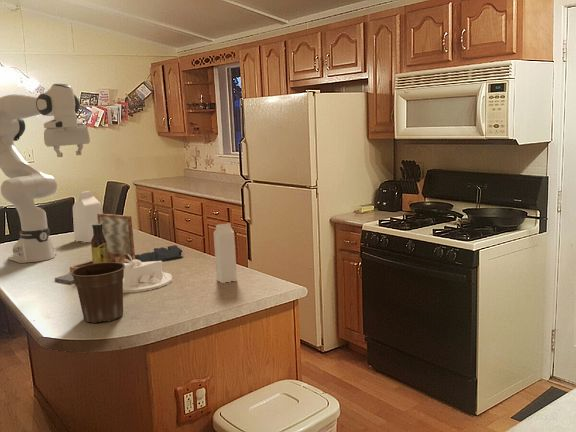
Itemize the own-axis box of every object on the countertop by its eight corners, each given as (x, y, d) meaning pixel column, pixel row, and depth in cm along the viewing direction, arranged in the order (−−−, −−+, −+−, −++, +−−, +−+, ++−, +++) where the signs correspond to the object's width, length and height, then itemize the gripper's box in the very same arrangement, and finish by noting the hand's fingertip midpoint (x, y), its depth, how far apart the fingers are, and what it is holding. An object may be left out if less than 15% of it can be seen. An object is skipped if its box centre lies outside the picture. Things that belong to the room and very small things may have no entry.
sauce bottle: (104, 272, 234) (99, 225, 230) (90, 272, 235) (85, 225, 232) (112, 268, 240) (107, 222, 237) (98, 268, 242) (94, 222, 238)
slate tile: (54, 280, 224) (54, 278, 224) (75, 274, 233) (75, 271, 233) (71, 284, 219) (70, 281, 219) (92, 277, 228) (91, 274, 227)
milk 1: (88, 242, 294) (83, 193, 289) (74, 241, 300) (69, 192, 295) (107, 238, 304) (102, 190, 299) (93, 236, 310) (88, 189, 305)
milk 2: (237, 281, 214) (234, 224, 210) (222, 283, 211) (219, 226, 207) (230, 277, 219) (227, 221, 215) (216, 280, 216) (212, 223, 212)
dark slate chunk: (128, 260, 255) (127, 250, 254) (174, 252, 267) (173, 242, 266) (139, 267, 242) (138, 256, 241) (187, 258, 254) (186, 248, 253)
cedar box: (70, 272, 236) (64, 220, 232) (104, 262, 251) (99, 213, 247) (102, 278, 226) (96, 223, 222) (136, 267, 241) (131, 216, 237)
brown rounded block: (113, 269, 238) (112, 258, 238) (121, 266, 242) (120, 255, 241) (121, 270, 236) (119, 259, 235) (129, 268, 240) (127, 256, 239)
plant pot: (65, 323, 176) (59, 273, 173) (99, 306, 191) (94, 260, 188) (107, 328, 170) (102, 277, 167) (139, 310, 185) (135, 263, 182)
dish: (113, 297, 201) (110, 267, 199) (101, 281, 223) (98, 253, 221) (180, 285, 212) (178, 256, 210) (162, 270, 234) (160, 244, 232)
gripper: (81, 122, 247) (84, 154, 249) (40, 124, 230) (44, 158, 232) (91, 122, 244) (94, 154, 246) (49, 123, 226) (53, 158, 229)
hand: (69, 156), depth 239 cm, fingers open, 8 cm apart
